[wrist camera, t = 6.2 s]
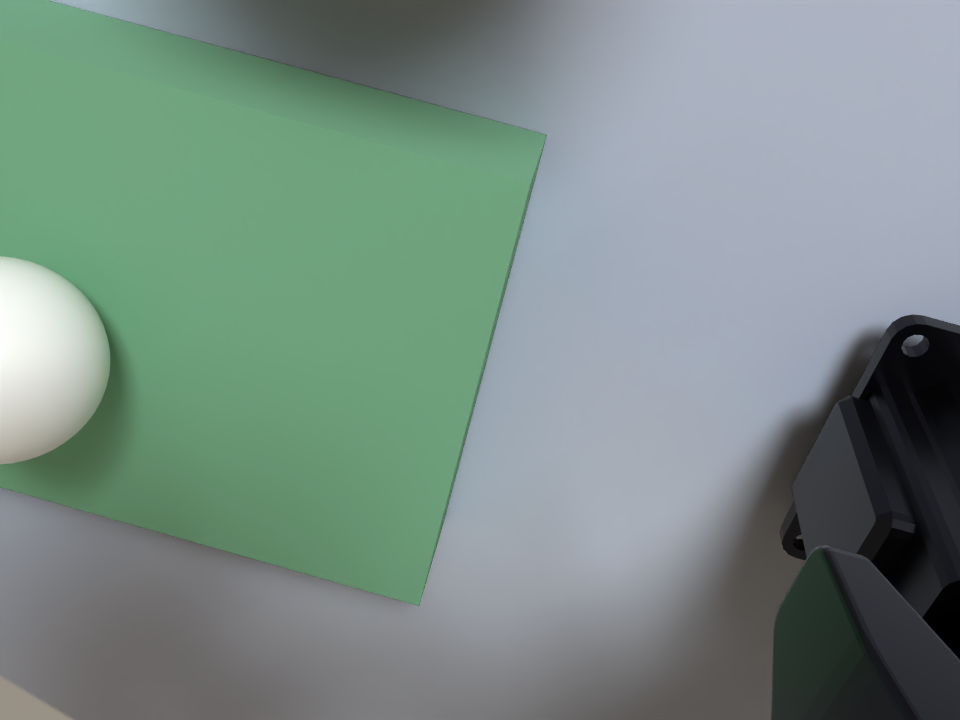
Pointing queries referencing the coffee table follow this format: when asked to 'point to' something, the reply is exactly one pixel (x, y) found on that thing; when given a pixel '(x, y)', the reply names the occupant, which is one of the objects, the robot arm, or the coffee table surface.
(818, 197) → the coffee table surface
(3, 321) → the ball
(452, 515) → the coffee table surface
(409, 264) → the putting mat
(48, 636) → the coffee table surface
